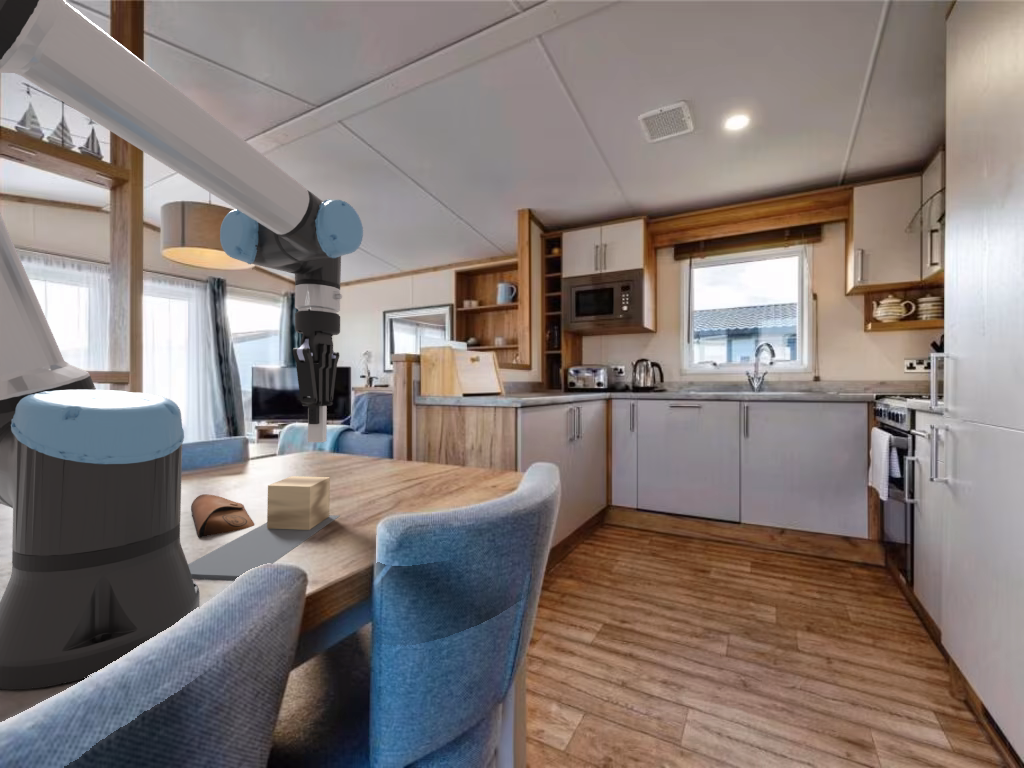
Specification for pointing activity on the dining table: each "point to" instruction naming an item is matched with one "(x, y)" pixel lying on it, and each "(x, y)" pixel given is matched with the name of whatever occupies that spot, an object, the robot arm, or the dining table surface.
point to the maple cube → (298, 502)
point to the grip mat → (251, 551)
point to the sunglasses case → (218, 515)
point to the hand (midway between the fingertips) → (317, 441)
